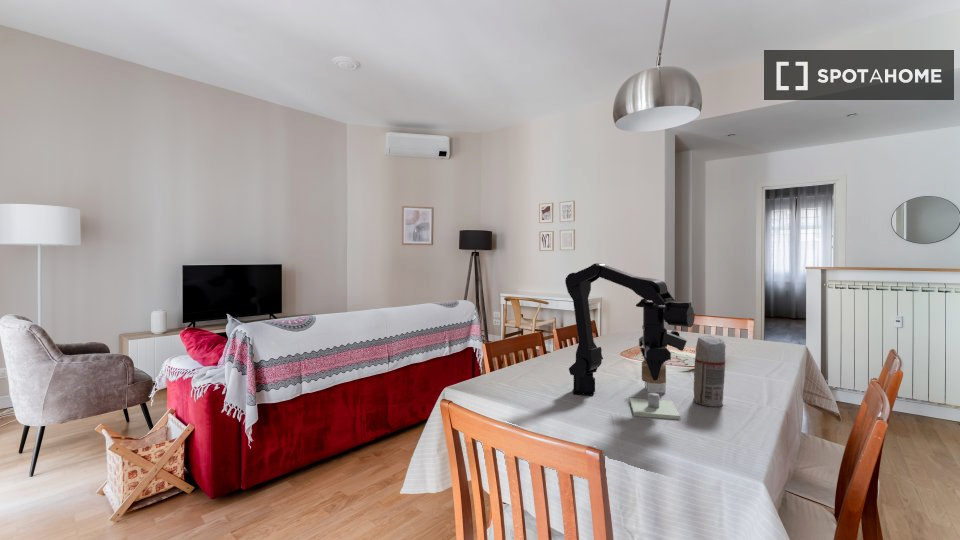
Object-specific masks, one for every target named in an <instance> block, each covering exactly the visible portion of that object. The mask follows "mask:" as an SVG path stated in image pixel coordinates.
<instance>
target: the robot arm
mask: <svg viewBox="0 0 960 540" xmlns="http://www.w3.org/2000/svg"><path fill="white" fill-rule="evenodd" d="M600 278H601V279H604V280H607V281H609V282H612V283H614V284H617V285H619V286H622V287H625V288H626V289H629V290H631V291H633V292H634V293H635V294H636V295H637V296H639V297H640V298H641V299H640V300H639V302H638V303H636V304H635V307H637V308H642V317H643V318H642V326H641V329H642V336H641V337H639V338H638V345H639V349H640V351H641V354H642V357H643V361H644V360H646V362H647V365H648V368H649V370H650V373H651V376H652V378H653V380H657V379H658V376H659V372H660V369H661V366H662V363H664V362H665V363H666V362H667V361H671V360H672V359H671V358H672V353H671V351H670V350H669V349H668V348H667V347H668V346H670V347H672V348H675V349H677V350H679V351H681V352H684V350H685V347H686V344H687V342H688V340H687V339H686V338H684V337H682V336H680V332H679V331H677V330H671V331H670V332H668V330H667V328H666V327H665V323H667V325H668V326H674V327H675V326H676V327H684V328H692V327H693V326H694V323H695V317H696V313H695V312H694V308H693V306H692V302H691V301H685V302H683V301H676V300H675V299H674V297H673V295H672V294H671V293H670V291H668V290H669V289H668V286H667V284H666V282H665V281H663V279H657V278H652V277H642V276H636V275H634V274H631V273H628V272H625V271H624V270H623V271H622V270H620V269H617V268H615V267H612V266H609V265H607V264H605V263H602V262H601V263H600V262H599V263H598V262H596V263H593V264H591V265H590V266H588V267H585V268H583V269H581V270H579V271H577V272H571V273H569V274H568V275H566V277H565V280H564V281H565V286H566V290H567V293H568V295H569V296H570V298H571V299H572V303H573V310H574V318H575V326H576V331H577V332H576V333H577V340H578V342H577V343H578V345H577V348H576V352H575V362H574V363H572V364H571V365H570V366H569V367H568V371H569V374H570V376H573V389H572V390H573V391H572V394H573V395H582V396H583V395H585V396H594V395H595V393H596V377H594V373H596V372H597V370H598V368H600V366H601V365H602V364H603V363H602V362H603V361H602V360H604V358H603V355H602V350H603V349H602V347H601V346H597V345H596V342H595V341H594V333H593V327H592V319H591V311H590V304H589V297H590V293H591V290H592V289H591V288H592V283H594V282H595V281H597V280H598V279H600Z"/></svg>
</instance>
